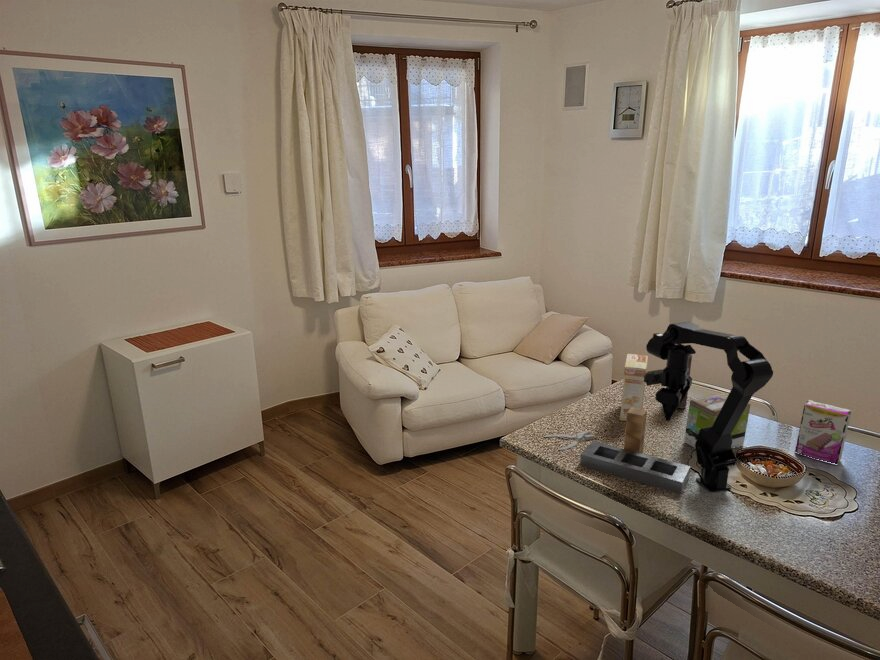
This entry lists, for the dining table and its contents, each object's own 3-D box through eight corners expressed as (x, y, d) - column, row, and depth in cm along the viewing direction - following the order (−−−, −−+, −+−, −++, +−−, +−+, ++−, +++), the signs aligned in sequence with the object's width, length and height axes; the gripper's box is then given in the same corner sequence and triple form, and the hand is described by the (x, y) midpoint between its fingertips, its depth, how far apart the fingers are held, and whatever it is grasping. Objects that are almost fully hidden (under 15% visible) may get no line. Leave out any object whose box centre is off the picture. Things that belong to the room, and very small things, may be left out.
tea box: (708, 456, 175) (715, 411, 171) (683, 442, 184) (688, 398, 180) (744, 446, 181) (751, 402, 177) (717, 433, 190) (723, 390, 186)
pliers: (542, 433, 188) (583, 426, 192) (542, 438, 188) (583, 431, 193) (558, 447, 179) (600, 439, 184) (558, 452, 179) (600, 444, 184)
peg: (642, 453, 178) (647, 410, 174) (638, 459, 174) (642, 416, 170) (627, 449, 180) (631, 407, 176) (623, 455, 176) (627, 412, 172)
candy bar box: (794, 454, 176) (803, 404, 172) (798, 448, 180) (807, 398, 175) (837, 467, 169) (848, 414, 164) (841, 460, 173) (852, 409, 168)
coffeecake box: (641, 423, 197) (646, 369, 192) (619, 420, 200) (623, 366, 194) (643, 406, 210) (648, 355, 205) (622, 403, 213) (627, 352, 207)
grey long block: (689, 477, 164) (690, 466, 163) (680, 494, 156) (682, 482, 155) (591, 451, 179) (592, 440, 178) (579, 465, 171) (580, 454, 170)
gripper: (656, 351, 180) (651, 398, 185) (639, 369, 165) (634, 420, 170) (695, 357, 174) (689, 406, 179) (681, 377, 159) (674, 429, 164)
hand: (671, 414), depth 173 cm, fingers open, 9 cm apart
